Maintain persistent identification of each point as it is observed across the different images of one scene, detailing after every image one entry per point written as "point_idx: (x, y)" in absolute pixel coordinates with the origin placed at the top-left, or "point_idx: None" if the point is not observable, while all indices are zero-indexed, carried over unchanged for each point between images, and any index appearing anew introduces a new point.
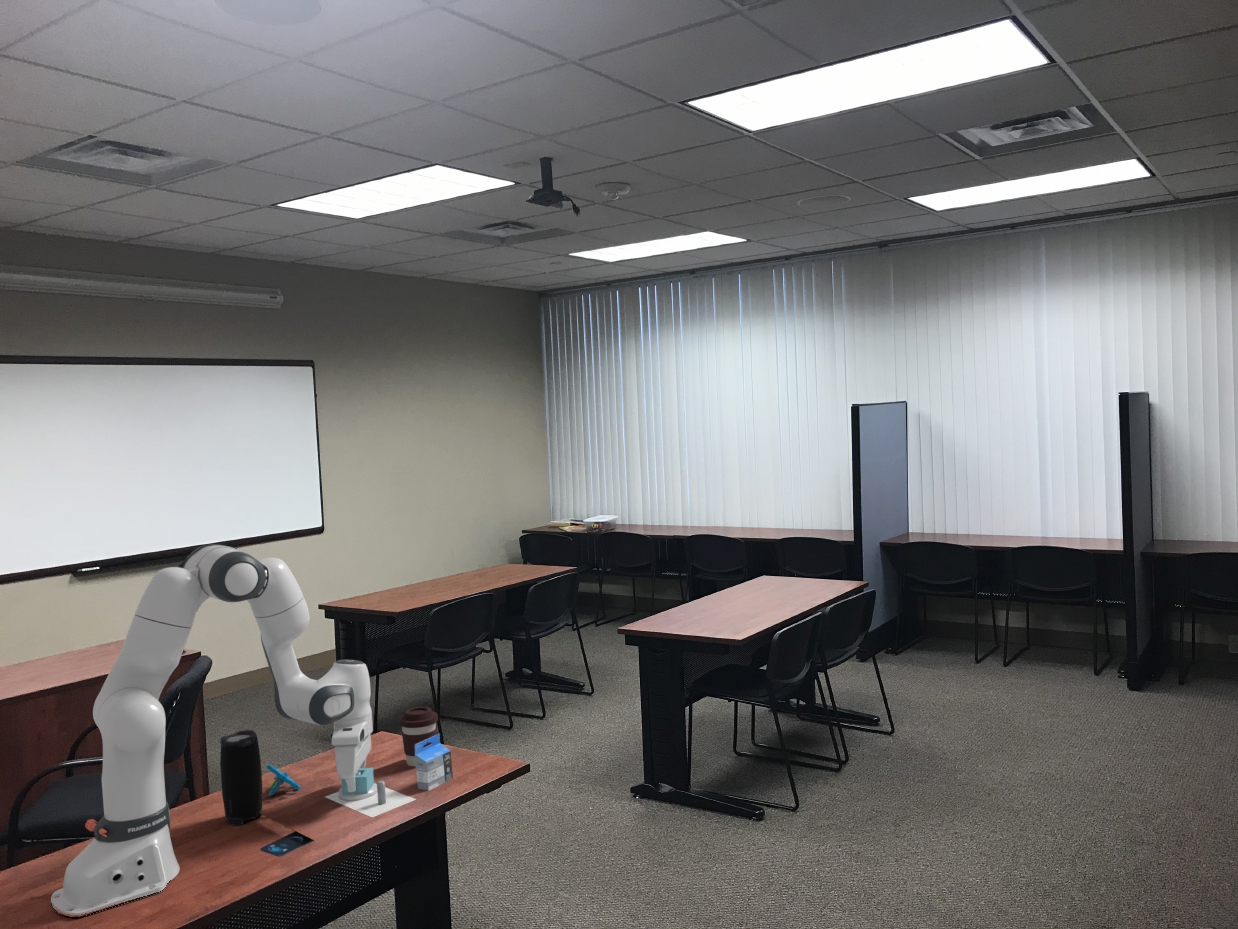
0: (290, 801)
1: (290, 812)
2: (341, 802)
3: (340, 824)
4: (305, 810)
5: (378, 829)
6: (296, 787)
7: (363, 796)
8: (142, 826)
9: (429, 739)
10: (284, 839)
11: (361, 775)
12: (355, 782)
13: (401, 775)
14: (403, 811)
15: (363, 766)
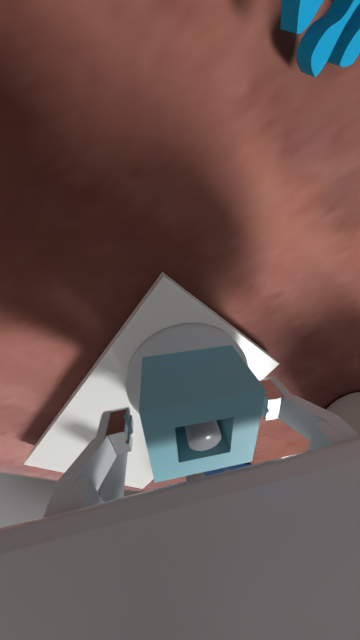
0: (191, 69)
1: (57, 135)
2: (113, 357)
3: (6, 384)
4: (91, 214)
5: (10, 464)
6: (306, 40)
7: None
8: None
9: None
10: None
11: (171, 465)
12: (112, 461)
13: (313, 395)
14: None
15: (287, 420)
